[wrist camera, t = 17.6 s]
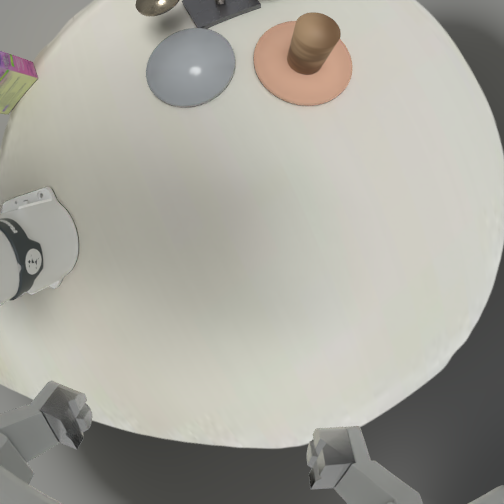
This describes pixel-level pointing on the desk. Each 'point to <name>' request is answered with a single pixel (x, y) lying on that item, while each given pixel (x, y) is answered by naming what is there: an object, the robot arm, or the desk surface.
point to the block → (312, 42)
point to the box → (14, 80)
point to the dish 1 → (190, 67)
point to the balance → (200, 9)
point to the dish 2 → (295, 84)
